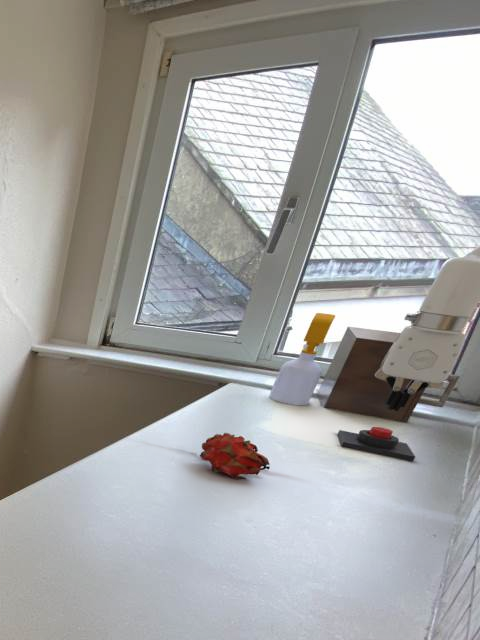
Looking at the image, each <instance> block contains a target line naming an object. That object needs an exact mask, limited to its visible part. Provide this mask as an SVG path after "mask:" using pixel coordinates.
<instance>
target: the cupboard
mask: <svg viewBox="0 0 480 640" xmlns="http://www.w3.org/2000/svg"><path fill="white" fill-rule="evenodd" d="M400 333H401V332H395V331H387V330H380V329H379V330H378V329H370V328H362V327H355V326H347V328H346V330H345V332H344V334H343V335H342V338H341V340H340V343H339V345H338V347H337V349H336V351H335V353H334V356H333V358H332V360H331V362H330V364H329V366H328V369H327V371H326V373H325V375H324V377H323V380H322V382H321V384H320V386H319V387H318V391H317V392H316V393H317V398H318V401H319V404H320V406H323V408H325V409H331V410H336V411H341V412H346V413H347V412H348V413H353V414H358V415H363V416H367V417H368V416H369V417H374V418H380V419H385V420H389V421H395V422H400V423H402V419H403V417H404V416H405V414H406V412H407V410H408V408H409V406H410V405H411V403H412V401H413V399H414V397H415V395H416V394H417V392H418V391H417V392H415V393H413V394H411V395H410V397H409V399H408V401H407V403H406V404H405V406H404V407H400V409H399V411H395V410H389V409H388V408H387V407H386V406H387V404H385V401H386V399H387V397H388V395H389V393H390V392H391V390H392V388H391V387H390V385H389V384H388V382H387V381H384V380H382V379H379V378H377V377H375V373H376V372H377V371H378V370H379V369H380V366H381V364H382V361H383V360H384V358H385V356H386V354H387V353H388V351H389V349H390V348H391V346H392V345H393V343H394V342H395V340H396V339H397V337H398V336H399V335H400ZM393 377H394V376H393ZM411 380H412V379H407V378H404V380H403V383H402V387H401V389H402V390H403V389H404V388H406V386H407V385H408V384H409V383H410V381H411ZM402 390H401V391H402Z"/></svg>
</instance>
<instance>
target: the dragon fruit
mask: <svg viewBox="0 0 480 640" xmlns="http://www.w3.org/2000/svg"><path fill="white" fill-rule="evenodd" d="M201 449H202V450H203V451H201V452H200V454H199V458H201V460H203V461H206V462H207V461H208V462H209V463H210V465H211V469H212V470H213V472H214V473H219V472H222V473H223V474H226V475H228V476H230V477H232V479H234V480H240V481H241V480H242V481H243V480H244V481H245V480H248V478H247V477H245V476H246V475H256V476H258V475H259V474H260V472H261V471H263V470H270V467H271V466H270V465H271V463H270V462H269V459H268V457H266V456H264V455H263V454H260V453H259V452H258V451H259V449H258V446H257V445H256V444H254V443H252V442H251V440H249V439H247V440H246V439H245V437H243V436H241V435H239V436H235V434H230V433H229V432H223V433H222V434H219V433H216V434H214V436H212V437H211V436H210V437H208V438H207V439H206V440H205V442H202V443H201ZM240 475H245V476H240Z"/></svg>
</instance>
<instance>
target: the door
mask: <svg viewBox="0 0 480 640" xmlns="http://www.w3.org/2000/svg"><path fill="white" fill-rule="evenodd" d="M460 378H461V375H457V374H451V373H450V375H449V376H448V378H447V379H446V380H445V381H449V382H448V384H447V386H446V388H445V389H444V391H443V393H442V394H441V396H440V398H439V400H435V399H430V398H429V399H428V398H423V397H422V396H423V394H424V392H425V391H426V389H427V388H424V389H422V390H419V391H418V392H417V394H416V395H415V397H414V399H413V401H412V403H411V405H410V406H409V408H408V410H407V412H406V414H405V416H404V417H403V419H402V421H401V423H406V424H407V423H408V421H409V419H410V418H411V416H412V414H413V413H414V411H415V409H416V408H417V405H418V404H419V405H424V406H425V405H426V406H430V407H438V408H443V407H444V406H445V404H446V403H447V401H448V399H449V397H450V395H451V393H452V392H453V390H454V389H455V387H456V386H457V383H458V381H459V380H460Z"/></svg>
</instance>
